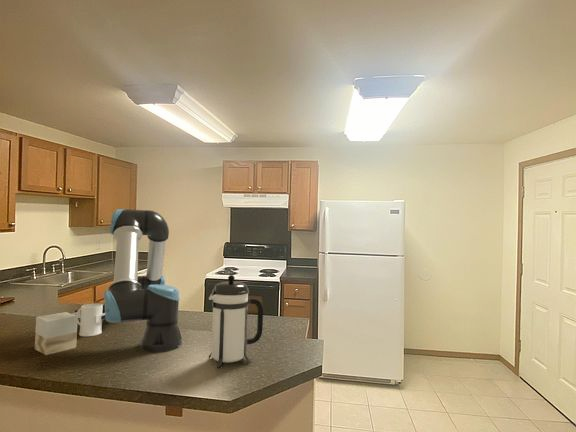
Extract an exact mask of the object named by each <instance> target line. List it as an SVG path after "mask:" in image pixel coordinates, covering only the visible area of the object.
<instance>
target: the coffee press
mask: <svg viewBox="0 0 576 432" xmlns="http://www.w3.org/2000/svg"><path fill="white" fill-rule="evenodd" d="M227 279H228V281H220V282H218V283H217V284H215V286H214V288H213V289H212V292H211V293H210V294H209V297H208V300H210V301H211V300H212V322H211V323H212V327H211V329H212V331H211V352H210V354H209V355H208V359H209V358H210V357H212V359H211V360H214V361H217V365H216V368H217V369H219V368H221V367H222V368H223V367H224V365H225V363H234V362H235V363H236V362H239V361H241V362H242V363H243V364H244V365H248V364H249V362H250V360H249V358H248V356H247V347H248V345H253V344H255V343H257V342H258V341H259V340H260V339H261V337H262V336H263V335H262V334H263V329H264V328H263V325H264V324H263V323H264V322H263V321H264V319H263V318H264V309H263V305H262V303H261V302H260V301H259V300H258V299H256V298H250V299H249V293H250V289H249V288H248V285H247V284H245V283H244V282H241V281H235V276H234V275H233V274H230V275H229V276H228V277H227ZM249 304H250V305H255V306H256V308H257V319H256V320H257V321H256V322H257V326H256V328H257V329H256V334H255V336H254V337H252V338H247V337H248V335H247V333H248V332H247V331H248V308H249V307H248V306H249ZM245 363H246V364H245Z"/></svg>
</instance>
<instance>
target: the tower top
mask: <svg viewBox="0 0 576 432" xmlns="http://www.w3.org/2000/svg"><path fill="white" fill-rule="evenodd" d="M77 321H79V319H78V316H76V315H73V314H72V313H70V312H67V311H63V312H59V313H51V314H47V315H45V314H44V315H40V316H36V317H35V331H34V333H36V334H38V335H40V336H42V337H44V338H51V337H56V336H61V335H65V334H70V333H75V332H77V333H78V323H77Z"/></svg>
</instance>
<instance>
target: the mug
mask: <svg viewBox="0 0 576 432" xmlns="http://www.w3.org/2000/svg"><path fill="white" fill-rule="evenodd" d="M103 305H104V304H103V303H86V304H82V305H81V306H80V308H79V309H77V310H78V311H77V313H76V316H78V313H79V311H81V317H80V319H79V320H80V321H79V320H78V321H77V325H79V333H78V335H79V336H80V337H93V336H99V335H100V334H102V333H103V329H102V327H103V326H102V325H103V320H102V321H100V322H97V323H94V319H95V316H97V315H100V314H102V310H103Z"/></svg>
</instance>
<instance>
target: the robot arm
mask: <svg viewBox="0 0 576 432" xmlns="http://www.w3.org/2000/svg"><path fill="white" fill-rule="evenodd" d="M109 227H110V228H109V233H110V235H113V238H114V239H115V240H116V247H115V248H116V249H115V260H114V261H115V262H114V274H113V283H111V284H110V285H109V287H108V289H107V290H105V291H104V292H103V302H104V304H103V310H102V314H100V315H97V316H95V319H94V323H97V322H100V321H102V322H103V321H104V320H105V321H106V322H108V323H118V324H119V323H120V324H121V323H125V322H126V323H127V322H138V321H146V327H145V329H144V332H143V334H142V338H141V340H140V349H141V350H142V351H145V352H150V353H151V352H152V353H160V352H161V353H162V352H168V351H167V350H169V351H172V350H171V349H173V350H175V349H174V348H176V347H178V346H179V345H181V346H182V344H181V343H183V341H182V340H183V338H182V334H181V331H180V327H179V305H180V304H179V303H180V302H179V301H180V293H179V292H180V291H179V289H178V288H177V287H175V286H173V285H172V286H171V285H166V277H165V275H163V268H164V259H165V251H166V243H167V240H168V239H169V234H170V229H169V225H168V223H167V221H166V219H165V218H164V217H163V216H162V215H161V214H159V213H158V212H157V211H154V210H150V209H149V210H146V209H145V210H144V209H129V208H128V209H126V208H123V209H121V208H118V209H115V210H114V211H113V213H112V216H111V220H110V226H109ZM143 236H147V239H148V252H147V263H146V275H138V274H139V273H138V271H139V270H138V268H139V241H140V240H141V239H142V238H143ZM78 310H79V309H76V310H74V312H72V313H71V314H73V315H76V313H77V311H78ZM80 319H81V311H79V313H78V320H80ZM179 347H180V346H179ZM179 347H178V348H179ZM176 349H177V348H176Z"/></svg>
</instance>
